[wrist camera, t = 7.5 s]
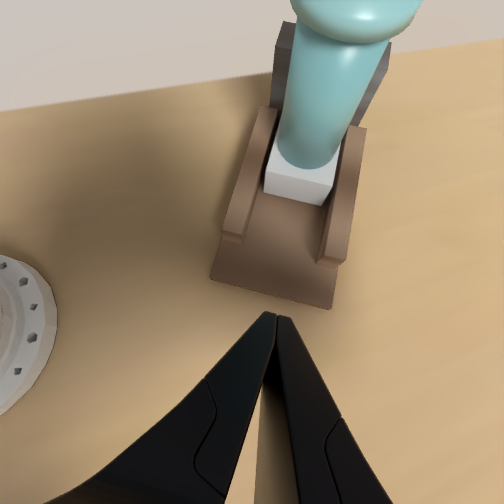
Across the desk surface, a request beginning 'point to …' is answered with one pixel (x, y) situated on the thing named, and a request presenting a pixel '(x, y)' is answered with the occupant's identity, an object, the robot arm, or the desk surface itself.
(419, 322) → the desk surface
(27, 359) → the mechanical component
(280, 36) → the mount
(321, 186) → the knob
